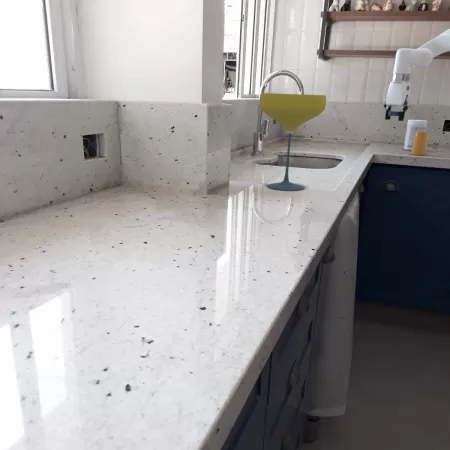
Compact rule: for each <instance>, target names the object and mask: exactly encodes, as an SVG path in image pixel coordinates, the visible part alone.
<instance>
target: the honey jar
mask: <svg viewBox="0 0 450 450" xmlns="http://www.w3.org/2000/svg"><path fill="white" fill-rule="evenodd" d="M429 137H430V136H429V131H427V130H426V131H416V132H415V135H414V140H413V145H412V151H411V150H410V151H411V152H410V155H413V156H425V155H426V153H427V146H428V141H429Z"/></svg>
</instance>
